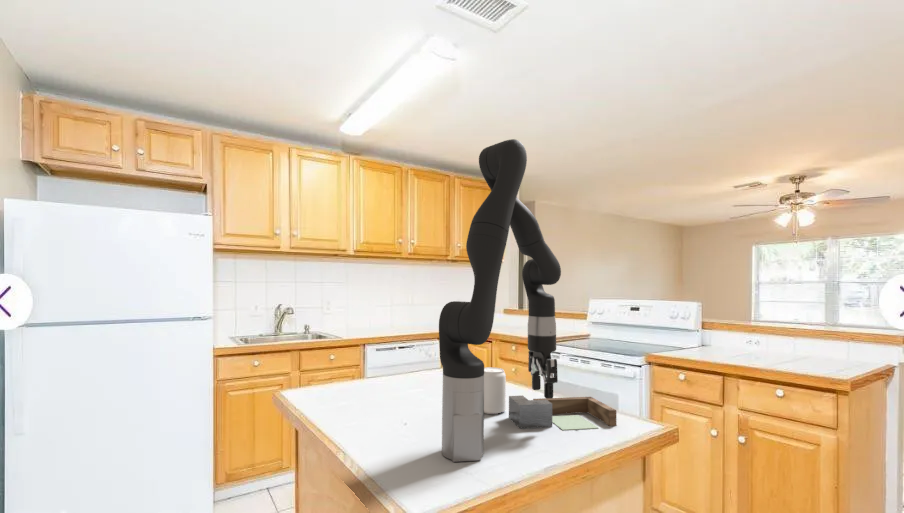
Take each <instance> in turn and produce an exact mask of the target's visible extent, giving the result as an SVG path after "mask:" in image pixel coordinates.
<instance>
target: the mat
mask: <svg viewBox="0 0 904 513" xmlns="http://www.w3.org/2000/svg"><path fill="white" fill-rule="evenodd" d="M552 424H554V425H555V426H556V427H558V428H559V429H560V430H562V431H574V430H576V431H577V430H593V429H595V430H596V429H597V430H599V426H598V425H596V424H594V423H592V422H591V421H589V420H587V419H586V418H585V417H582V416H581V415H579V414H575V415H574V414H572V415H570V414H569V415H552Z"/></svg>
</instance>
